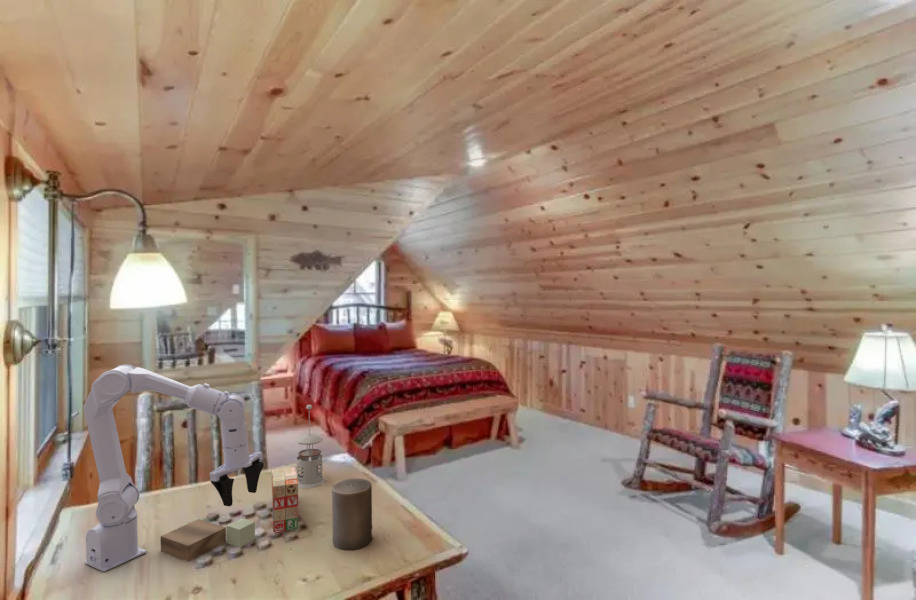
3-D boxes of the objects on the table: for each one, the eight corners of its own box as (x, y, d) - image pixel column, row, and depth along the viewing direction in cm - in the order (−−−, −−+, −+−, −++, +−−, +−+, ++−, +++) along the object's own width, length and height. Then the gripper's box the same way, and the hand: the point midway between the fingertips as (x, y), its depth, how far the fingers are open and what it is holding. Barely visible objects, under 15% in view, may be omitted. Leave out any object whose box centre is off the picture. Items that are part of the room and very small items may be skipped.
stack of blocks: (271, 500, 150) (271, 459, 149) (294, 497, 152) (293, 456, 151) (273, 533, 130) (272, 485, 129) (298, 529, 132) (298, 482, 132)
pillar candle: (380, 537, 127) (380, 478, 127) (351, 554, 119) (351, 491, 119) (352, 527, 133) (352, 470, 132) (323, 543, 125) (323, 482, 124)
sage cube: (239, 548, 122) (239, 529, 122) (227, 543, 124) (226, 525, 124) (255, 539, 126) (254, 521, 126) (242, 535, 128) (242, 518, 128)
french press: (293, 489, 157) (292, 409, 157) (294, 476, 169) (294, 401, 168) (325, 486, 160) (325, 407, 159) (325, 473, 171) (324, 399, 170)
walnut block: (188, 563, 116) (188, 545, 116) (160, 552, 121) (160, 536, 121) (225, 543, 125) (225, 527, 125) (198, 534, 130) (198, 518, 130)
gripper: (223, 456, 117) (228, 513, 118) (269, 436, 130) (274, 488, 131) (201, 453, 120) (206, 510, 121) (249, 434, 133) (253, 485, 134)
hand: (240, 498), depth 126 cm, fingers open, 7 cm apart
